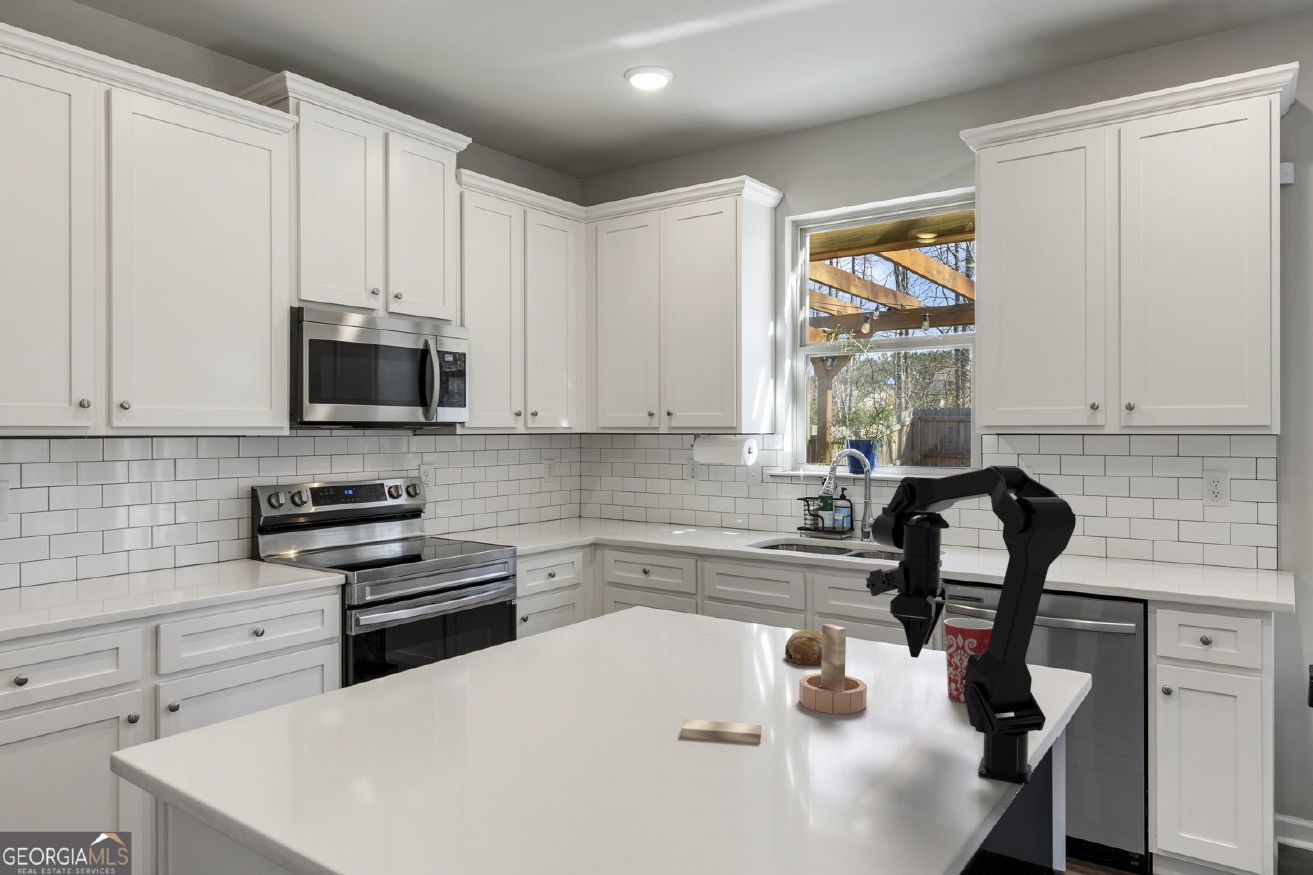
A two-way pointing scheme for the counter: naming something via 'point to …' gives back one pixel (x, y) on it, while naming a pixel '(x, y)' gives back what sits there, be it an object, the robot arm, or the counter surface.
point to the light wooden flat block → (721, 731)
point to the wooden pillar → (833, 658)
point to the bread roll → (805, 648)
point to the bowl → (833, 695)
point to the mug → (963, 649)
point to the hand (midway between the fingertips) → (919, 650)
